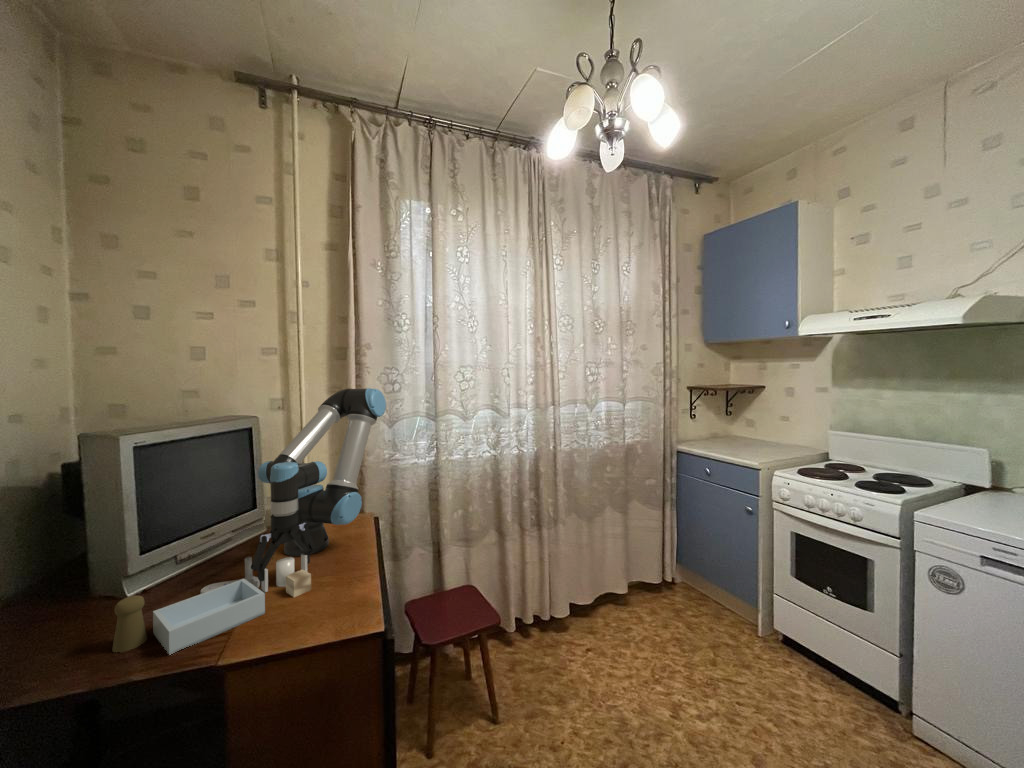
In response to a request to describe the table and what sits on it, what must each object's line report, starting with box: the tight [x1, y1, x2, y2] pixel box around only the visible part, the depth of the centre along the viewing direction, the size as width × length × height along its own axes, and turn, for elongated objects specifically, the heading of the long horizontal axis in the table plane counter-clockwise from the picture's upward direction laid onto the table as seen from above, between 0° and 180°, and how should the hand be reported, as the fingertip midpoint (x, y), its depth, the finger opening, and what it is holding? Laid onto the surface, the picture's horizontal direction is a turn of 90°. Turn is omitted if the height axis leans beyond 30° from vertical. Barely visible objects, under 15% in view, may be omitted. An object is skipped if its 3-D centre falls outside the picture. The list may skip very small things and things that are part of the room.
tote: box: [152, 578, 266, 656], centre depth 101 cm, size 20×14×6 cm
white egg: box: [275, 556, 296, 588], centre depth 122 cm, size 5×5×7 cm
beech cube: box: [285, 569, 312, 598], centre depth 117 cm, size 5×5×5 cm
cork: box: [111, 595, 148, 654], centre depth 94 cm, size 6×6×11 cm
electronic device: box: [199, 556, 261, 595], centre depth 117 cm, size 5×10×15 cm
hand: (285, 582), depth 122 cm, fingers open, 11 cm apart
